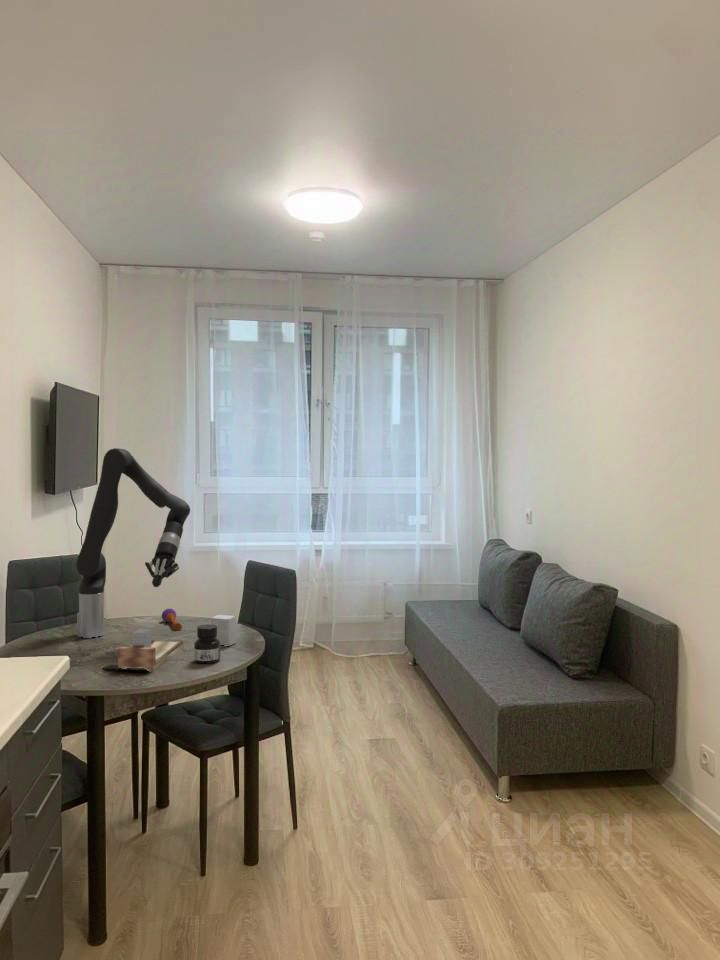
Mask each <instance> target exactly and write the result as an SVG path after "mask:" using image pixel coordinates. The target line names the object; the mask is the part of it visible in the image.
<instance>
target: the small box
mask: <svg viewBox="0 0 720 960" xmlns="http://www.w3.org/2000/svg"><path fill="white" fill-rule="evenodd" d="M210 624H212V625H216V626H217V637H216V638H217V639H218V640H219V641H220V645H227V646H230V645H232V644H234V643H235V644H237V616H235V615H227V614H224V615H223V614H217V615H214V616H212V617H210ZM235 644H234V645H235ZM227 646H226V647H227ZM232 646H233V645H232ZM230 647H231V646H230Z"/></svg>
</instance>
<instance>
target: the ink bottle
mask: <svg viewBox="0 0 720 960" xmlns="http://www.w3.org/2000/svg"><path fill="white" fill-rule="evenodd" d="M196 637H197V639H196V640H195V641H194V643H193V647H194V648H193V652H194V653H193V661H194V662H195V663H197V664H201V665H202V664H203V665H207V664H215V663H217V662H219V661H220V660H221V646H220V641H219V640H218V639H217V638H216V637H217V626H216V625H212V624H211V623H208V624H207V623H206V624H201V625H198V626H197V628H196Z"/></svg>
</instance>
